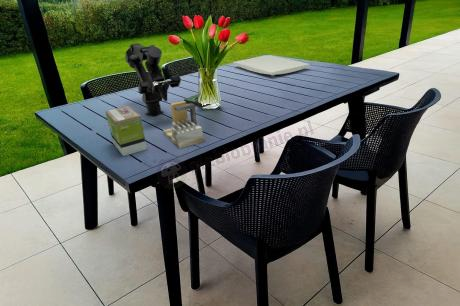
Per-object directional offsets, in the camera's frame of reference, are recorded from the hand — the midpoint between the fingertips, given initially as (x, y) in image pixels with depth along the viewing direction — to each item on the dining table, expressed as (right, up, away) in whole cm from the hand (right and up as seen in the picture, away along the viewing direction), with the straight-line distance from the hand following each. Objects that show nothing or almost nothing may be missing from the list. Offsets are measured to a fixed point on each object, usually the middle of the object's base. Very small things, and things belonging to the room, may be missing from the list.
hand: (166, 100), depth 156 cm
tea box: (-13, -21, -12) cm, 27 cm away
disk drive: (+12, +3, +34) cm, 37 cm away
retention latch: (+8, -15, -8) cm, 19 cm away
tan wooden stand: (+8, -16, -7) cm, 20 cm away
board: (+56, +35, +92) cm, 114 cm away
